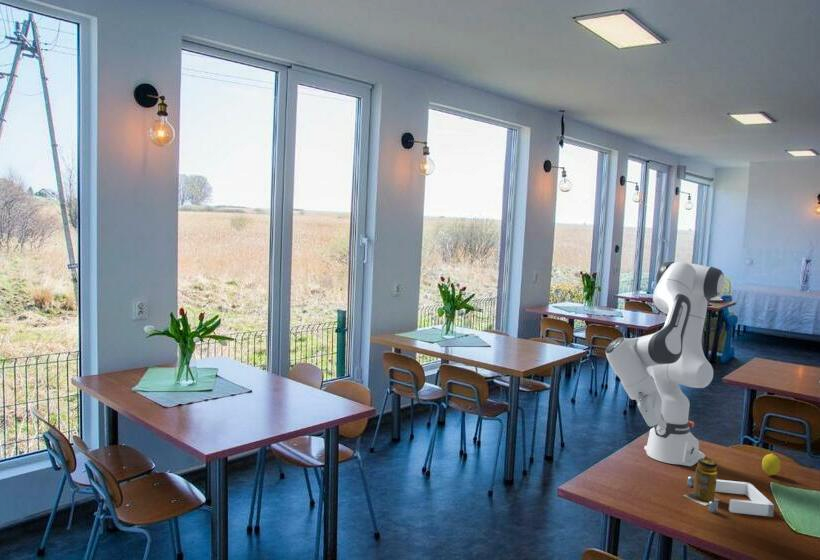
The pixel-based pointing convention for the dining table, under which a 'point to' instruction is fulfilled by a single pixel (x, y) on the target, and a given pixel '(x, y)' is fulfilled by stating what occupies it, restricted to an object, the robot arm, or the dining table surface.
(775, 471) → the lemon
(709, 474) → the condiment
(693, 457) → the robot arm
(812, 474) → the dining table surface
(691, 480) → the cylinder
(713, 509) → the cylinder
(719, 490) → the holder
